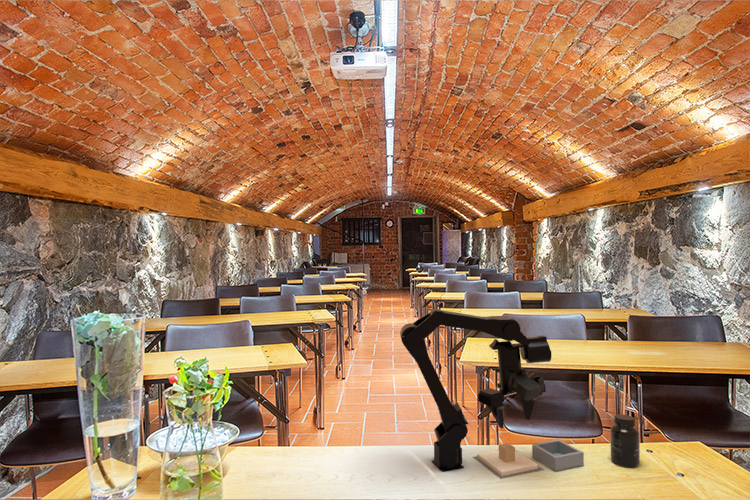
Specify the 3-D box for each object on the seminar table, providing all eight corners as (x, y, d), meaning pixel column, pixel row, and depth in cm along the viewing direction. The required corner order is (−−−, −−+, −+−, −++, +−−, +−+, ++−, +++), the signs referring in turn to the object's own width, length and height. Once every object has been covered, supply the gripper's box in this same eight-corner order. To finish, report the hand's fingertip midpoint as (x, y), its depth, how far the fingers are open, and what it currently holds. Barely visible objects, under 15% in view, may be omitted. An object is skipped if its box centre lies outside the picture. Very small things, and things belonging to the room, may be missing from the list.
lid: (501, 476, 115) (501, 457, 115) (477, 457, 126) (477, 441, 126) (538, 468, 119) (537, 451, 119) (511, 451, 129) (511, 435, 129)
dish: (555, 473, 117) (555, 457, 117) (532, 459, 126) (532, 444, 126) (583, 467, 120) (583, 452, 120) (559, 453, 129) (558, 439, 129)
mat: (500, 480, 114) (500, 478, 114) (472, 458, 126) (472, 456, 126) (543, 471, 118) (543, 469, 118) (512, 451, 131) (512, 449, 131)
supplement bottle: (643, 469, 119) (643, 422, 119) (615, 467, 120) (614, 421, 120) (634, 457, 126) (633, 413, 126) (607, 455, 127) (606, 412, 127)
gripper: (504, 377, 111) (509, 443, 111) (559, 363, 119) (564, 424, 119) (474, 369, 121) (479, 428, 120) (527, 356, 129) (532, 412, 129)
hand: (514, 423), depth 122 cm, fingers open, 9 cm apart
